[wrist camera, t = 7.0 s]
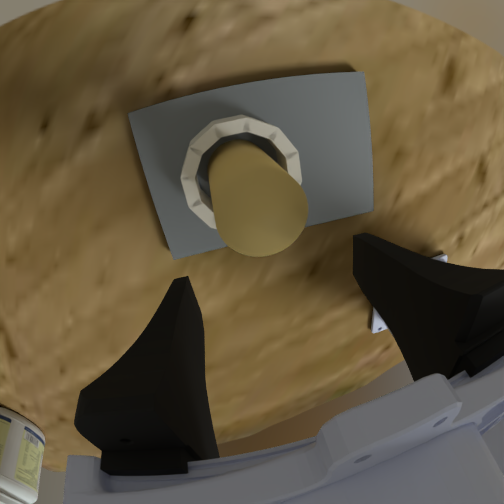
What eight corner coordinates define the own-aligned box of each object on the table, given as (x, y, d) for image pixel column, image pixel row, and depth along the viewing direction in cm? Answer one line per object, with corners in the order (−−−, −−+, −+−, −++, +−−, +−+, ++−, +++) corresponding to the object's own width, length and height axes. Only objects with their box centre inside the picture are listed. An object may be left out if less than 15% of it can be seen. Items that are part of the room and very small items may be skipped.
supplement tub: (-12, 417, 32) (-29, 490, 17) (-13, 393, 28) (-38, 481, 14) (42, 445, 37) (33, 519, 23) (51, 427, 34) (39, 517, 19)
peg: (262, 134, 19) (303, 161, 12) (271, 190, 21) (311, 245, 14) (201, 146, 18) (205, 181, 12) (214, 203, 20) (225, 265, 14)
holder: (357, 72, 18) (383, 71, 15) (367, 206, 24) (389, 224, 21) (130, 112, 17) (117, 116, 14) (174, 253, 23) (171, 279, 20)
